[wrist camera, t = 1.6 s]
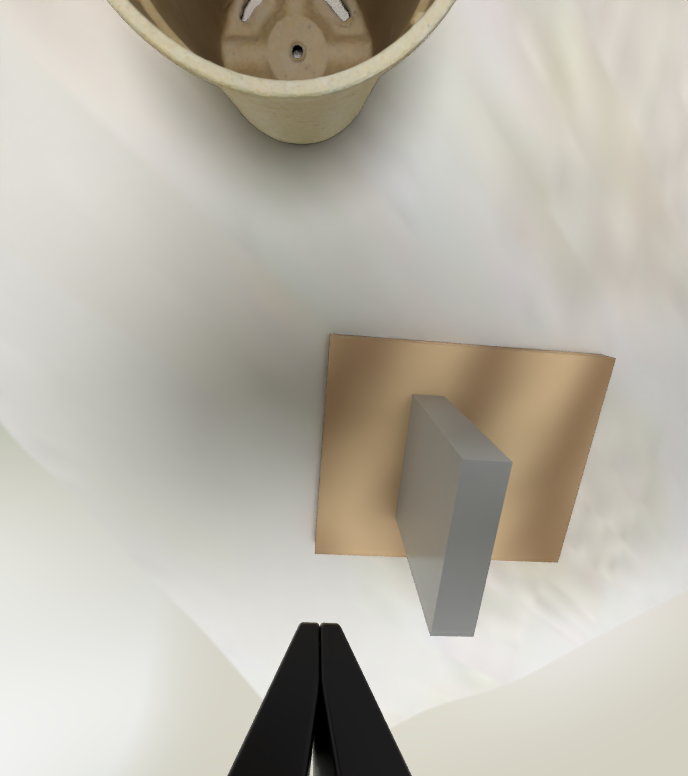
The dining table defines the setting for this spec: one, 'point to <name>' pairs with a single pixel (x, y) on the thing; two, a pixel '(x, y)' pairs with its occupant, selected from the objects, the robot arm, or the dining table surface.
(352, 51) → the flower pot
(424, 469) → the tile
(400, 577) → the dining table surface
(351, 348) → the board
